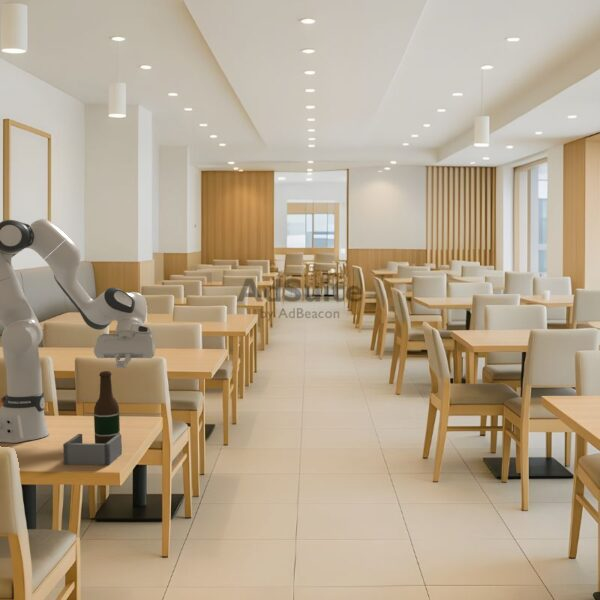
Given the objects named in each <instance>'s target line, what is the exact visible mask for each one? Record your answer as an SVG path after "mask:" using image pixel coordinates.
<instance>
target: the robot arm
mask: <svg viewBox="0 0 600 600" xmlns="http://www.w3.org/2000/svg"><path fill="white" fill-rule="evenodd" d="M24 249H31V250H32V251H34V252H36V253H37V254H38V255H39V256H40V257H41V258H42V259H43V260H44V261H45V262H46V263H47V265H48V266H49V268H50V269H51V271H52V273H53V278H54V279H55V282H56V284H57V285H58V287H59V288H60V289H61V291H62V292H63V293H64V294H65V295H66V297H67V298H68V299H69V301H70V302H71V303H72V304H73V306H75V308H76V310H78V312H79V313H80V315H81V317H82V319H83V320H84V323H85V324H86V325H87V326H89V327H90V328H91V329H94V330H98V331H99V330H104V329H105V330H106V328H107V327H108V326H109V325H111V323H112V322H114V321H115V320H116V321H117V325H116V329H115V331H114V332H115V333H102V334H100V335H98V337H97V339H96V343H95V346H94V348H93V353H94V356H95V357H96V358H97V359H115V362H116V364H115V367H116V369H126V367H127V365H128V363H130V361H132V359H153V357H155V354H156V353H155V352H156V344H155V335H154V332H153V330H152V328H151V327H150V326H146V325H144V323H145V321H146V317H147V312H148V311H147V309H148V304H147V299H146V298H145V296H144V295H142V294H141V293H140V292H136V291H132V292H131V291H130V292H125V290H122V289H121V288H118V287H113V286H111V287H109V288H107V289H106V290H104V291H103V292H102V293H100V294H99V295H98V296H97V297H96V298H94V299H93V298H91V297H90V295H89V294H88V293H87V291H86V290H85V289H84V288H83V286H82V285H81V284H80V282H79V281H78V278H77V273H78V272H77V271H78V267H79V266H80V262H81V252H80V249H79V247H78V245H77V244H76V242H75V241H73V240H72V239H71V238H70V237H69V236H68V235H67V234H66V233H65V232H64V231H63V230H62V229H61V228H60V227H58V226H56V225H55V224H54V223H53V222H51V221H50V220H48V219H47V218H45V219H44V218H40V219H37V220H35V221H33V222H31V223H30V224H28V223H25V222H21V221H18V220H15V219H6V220H2V221H0V323H1V325H2V327H3V330H2V334H1V337H0V338H1V339H0V340H1V341H0V343H1V347H2V354H3V361H4V366H5V369H6V370H5V372H6V374H5V375H6V391H7V392H6V393H7V394H5V395H4V396H3V397H1V398H0V403H2V405H1V407H0V443H13V444H15V443H22V442H26V441H33V440H37V439H41V438H45V437H47V436H49V434H50V432H49V429H48V426H47V422H46V416H45V411H44V410H45V406H46V405H45V402H46V401H45V395H44V394H45V393H44V392H43V378H42V375H43V374H42V371H43V370H42V367H41V366H42V365H41V360H40V352H39V345H40V343H41V342H42V340H43V337H44V330H43V328H42V325H41V324H40V321H39V319H38V317H37V316H36V314H35V312H34V310H33V307H32V306H31V305H30V302H29V301H28V299H27V298H26V295H25V293H24V290H23V288H22V286H21V283H20V281H19V279H18V276H17V273H16V272H15V270H14V267H13V263H12V258H13V257H15V256H16V255H17V254H19V253H20V252H22V251H23V250H24ZM121 359H123V360H121Z"/></svg>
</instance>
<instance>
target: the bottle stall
mask: <svg viewBox="0 0 600 600" xmlns="http://www.w3.org/2000/svg"><path fill="white" fill-rule="evenodd" d="M122 445H123V444H122V434H121V433H120V434H117V435H116V436H115V437H113V438H112V439H111V440H110V441H108V442H107V443H106V444H95V443H89V442H88V443H84V442H83V433H78V434H76V435H74V436H73V437H72V438H70V439H69V440H67V441H65V442H64V443H63V445H62V446H63V447H62V448H63V450H62V451H63V465H65V466H66V465H67V466H69V465H70V466H71V465H72V466H76V465H78V466H110V465H111V464H112V463H113V462H115V460H117V459H118V458H119V457H120V456H121V455H122V454H123V449H122V448H123V447H122Z"/></svg>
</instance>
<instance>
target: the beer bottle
mask: <svg viewBox="0 0 600 600" xmlns="http://www.w3.org/2000/svg"><path fill="white" fill-rule="evenodd" d="M112 375H113V374H112V371H108V370H103V371H101V372H99V375H98V376H99V382H100V383H99V395H98V397H99V398H98V399H97V401H96V402H95V405H94V408H93V423H94V425H93V427H94V444H106V443H107V442H108V441H110V440H111V439H112V438H113V437H115V436H116V435H117V434H121V430H120V429H121V428H120V424H121V423H120V408H119V404H118V401H117V400H116V399H115V397H114V394H113V387H112V385H113V384H112Z"/></svg>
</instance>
